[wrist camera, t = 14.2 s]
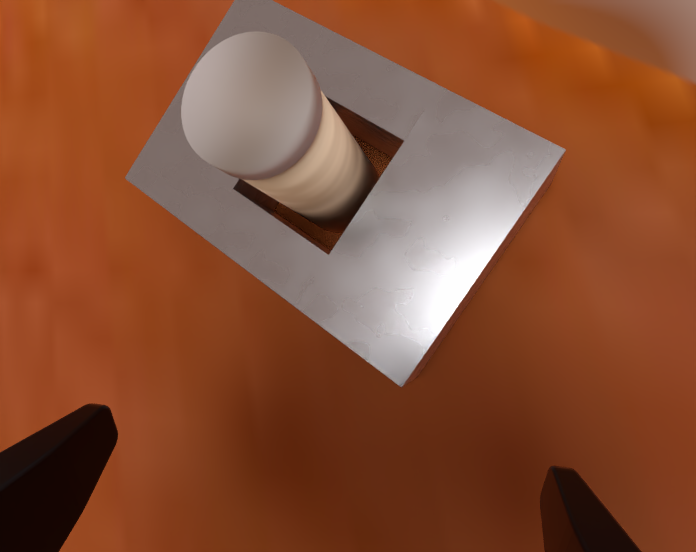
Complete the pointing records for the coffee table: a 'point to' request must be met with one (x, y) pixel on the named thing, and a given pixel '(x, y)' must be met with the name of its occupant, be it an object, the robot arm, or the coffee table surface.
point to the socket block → (368, 198)
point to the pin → (275, 129)
